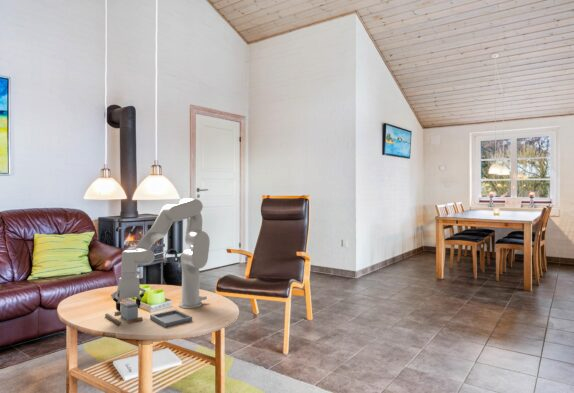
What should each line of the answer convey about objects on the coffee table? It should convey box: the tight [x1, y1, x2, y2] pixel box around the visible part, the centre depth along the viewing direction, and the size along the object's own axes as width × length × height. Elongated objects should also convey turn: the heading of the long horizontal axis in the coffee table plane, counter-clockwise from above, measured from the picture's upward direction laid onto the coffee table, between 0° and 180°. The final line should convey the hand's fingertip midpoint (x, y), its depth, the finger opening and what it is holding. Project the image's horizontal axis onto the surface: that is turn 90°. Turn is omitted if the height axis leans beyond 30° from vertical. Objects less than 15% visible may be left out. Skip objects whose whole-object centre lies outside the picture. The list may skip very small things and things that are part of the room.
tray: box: [149, 309, 193, 328], centre depth 202 cm, size 14×16×2 cm
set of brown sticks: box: [104, 310, 143, 327], centre depth 202 cm, size 12×17×2 cm
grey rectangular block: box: [120, 300, 139, 321], centre depth 204 cm, size 5×9×7 cm, turn 43°
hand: (128, 308), depth 204 cm, fingers open, 9 cm apart
